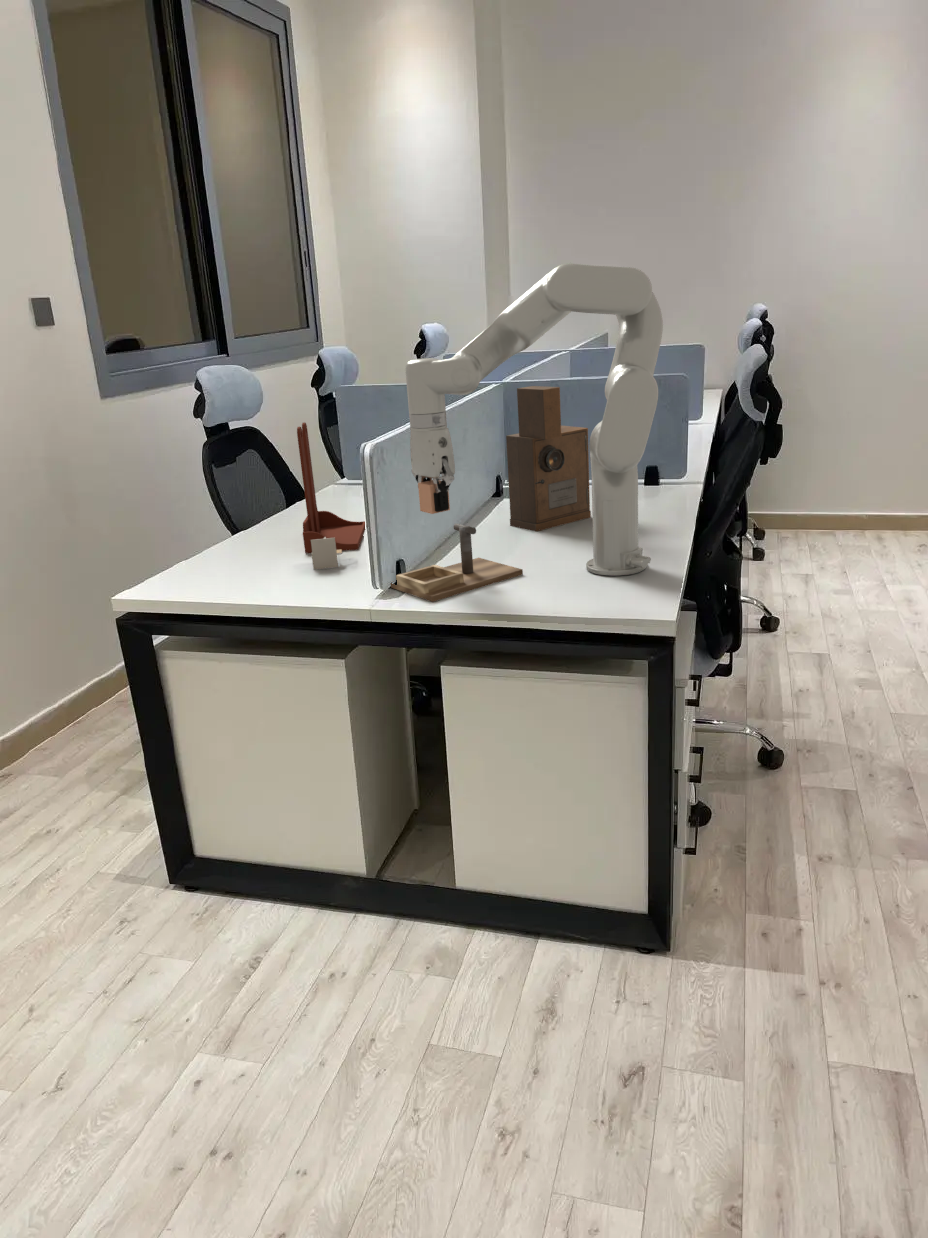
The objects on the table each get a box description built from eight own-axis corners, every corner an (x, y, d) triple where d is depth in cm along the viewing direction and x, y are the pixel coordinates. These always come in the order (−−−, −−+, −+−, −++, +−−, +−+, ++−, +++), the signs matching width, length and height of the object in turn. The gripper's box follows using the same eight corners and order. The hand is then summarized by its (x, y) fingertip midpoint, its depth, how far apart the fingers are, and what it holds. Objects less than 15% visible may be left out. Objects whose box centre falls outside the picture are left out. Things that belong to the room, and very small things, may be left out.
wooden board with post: (522, 574, 199) (520, 522, 195) (432, 602, 186) (427, 546, 182) (479, 562, 211) (475, 512, 207) (390, 587, 197) (385, 534, 193)
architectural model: (313, 567, 218) (309, 536, 216) (343, 564, 219) (339, 533, 217) (313, 571, 215) (309, 540, 213) (343, 568, 216) (340, 537, 213)
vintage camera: (546, 534, 231) (540, 389, 220) (510, 525, 242) (502, 387, 230) (601, 519, 242) (598, 381, 230) (564, 512, 252) (559, 379, 241)
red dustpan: (358, 550, 230) (344, 427, 220) (305, 553, 230) (289, 431, 220) (366, 527, 252) (354, 415, 243) (318, 530, 253) (304, 418, 243)
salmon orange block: (449, 510, 196) (447, 481, 194) (432, 513, 193) (429, 485, 191) (437, 507, 199) (435, 479, 197) (420, 510, 197) (418, 482, 195)
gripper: (467, 421, 186) (473, 511, 191) (420, 416, 199) (427, 500, 205) (436, 426, 181) (443, 518, 187) (390, 421, 195) (398, 506, 201)
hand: (434, 508), depth 196 cm, fingers closed on salmon orange block, 4 cm apart
